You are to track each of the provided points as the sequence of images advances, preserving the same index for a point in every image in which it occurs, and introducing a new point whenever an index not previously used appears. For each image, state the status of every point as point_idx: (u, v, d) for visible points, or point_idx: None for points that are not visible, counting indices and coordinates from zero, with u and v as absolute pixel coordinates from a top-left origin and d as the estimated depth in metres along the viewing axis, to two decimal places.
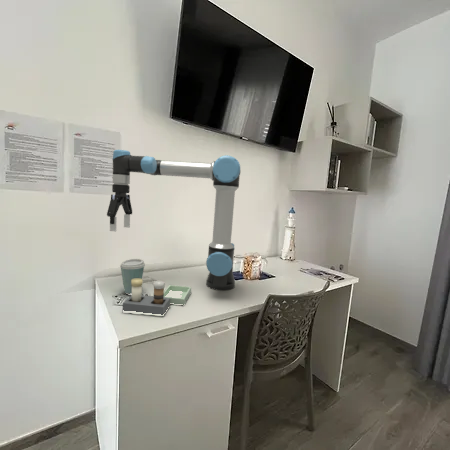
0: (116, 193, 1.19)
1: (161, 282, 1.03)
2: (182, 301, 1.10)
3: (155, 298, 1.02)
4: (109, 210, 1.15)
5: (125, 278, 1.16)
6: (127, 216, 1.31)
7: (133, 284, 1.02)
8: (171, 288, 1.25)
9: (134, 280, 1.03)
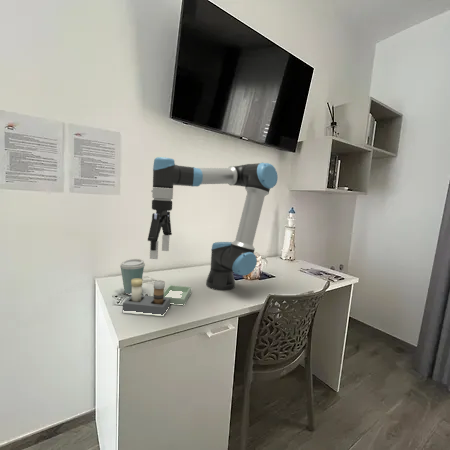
0: (157, 211, 0.96)
1: (161, 282, 1.03)
2: (182, 301, 1.10)
3: (155, 298, 1.02)
4: (151, 233, 0.91)
5: (125, 278, 1.16)
6: (166, 237, 1.07)
7: (133, 284, 1.02)
8: (171, 288, 1.25)
9: (134, 280, 1.03)
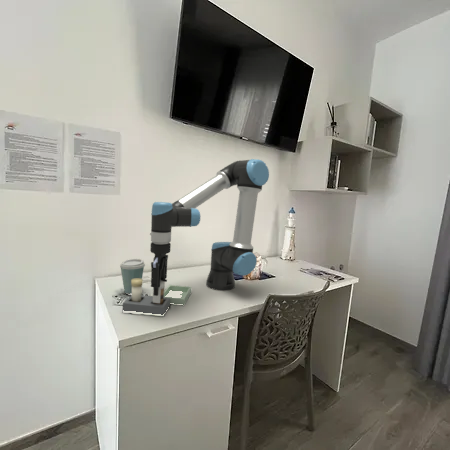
0: (156, 255, 0.98)
1: (161, 282, 1.03)
2: (182, 301, 1.10)
3: None
4: (153, 282, 0.97)
5: (125, 278, 1.15)
6: None
7: (133, 284, 1.02)
8: (171, 288, 1.25)
9: (134, 280, 1.03)
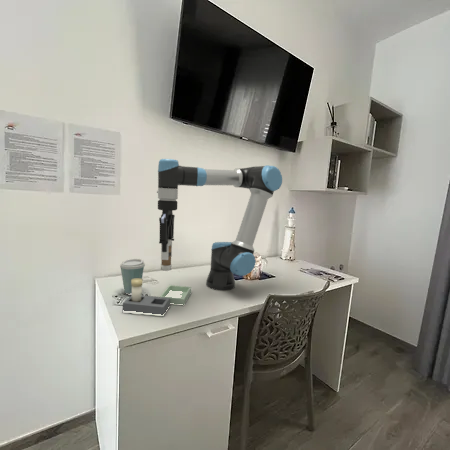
0: (164, 211, 0.99)
1: (169, 240, 1.04)
2: (182, 301, 1.10)
3: None
4: (161, 237, 0.98)
5: (125, 278, 1.16)
6: None
7: (133, 284, 1.02)
8: (171, 288, 1.25)
9: (134, 280, 1.03)
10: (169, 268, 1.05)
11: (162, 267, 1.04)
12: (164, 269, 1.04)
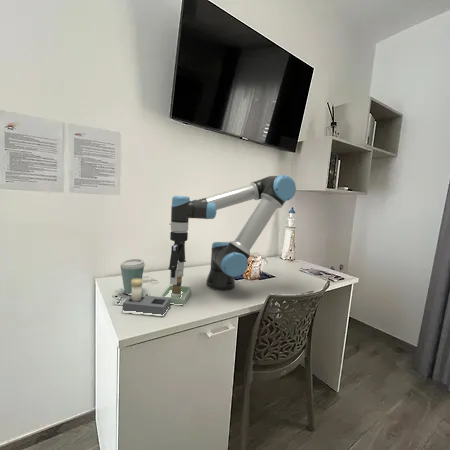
0: (175, 242, 1.11)
1: (180, 271, 1.16)
2: (182, 301, 1.10)
3: None
4: (171, 264, 1.07)
5: (125, 278, 1.16)
6: (181, 264, 1.22)
7: (133, 284, 1.02)
8: (171, 288, 1.25)
9: (134, 280, 1.03)
10: (179, 296, 1.17)
11: (172, 295, 1.16)
12: (174, 297, 1.16)
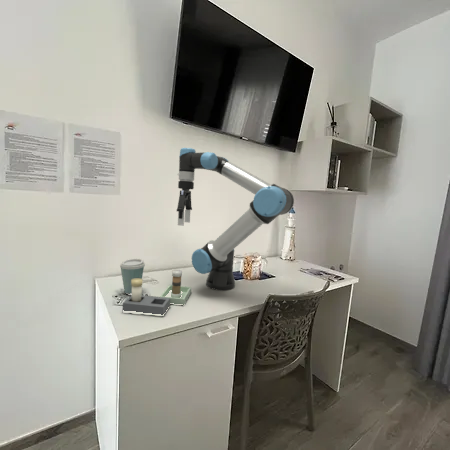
0: (183, 189, 1.25)
1: (179, 271, 1.16)
2: (182, 301, 1.10)
3: (174, 285, 1.15)
4: (179, 205, 1.21)
5: (125, 278, 1.15)
6: (188, 211, 1.37)
7: (133, 284, 1.02)
8: (171, 288, 1.25)
9: (134, 280, 1.03)
10: (179, 296, 1.17)
11: (172, 295, 1.16)
12: (174, 297, 1.16)
